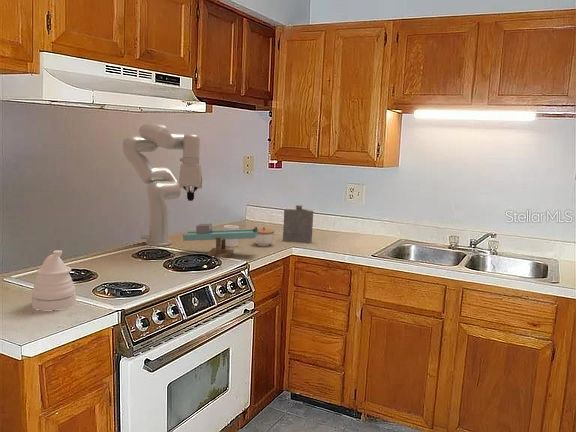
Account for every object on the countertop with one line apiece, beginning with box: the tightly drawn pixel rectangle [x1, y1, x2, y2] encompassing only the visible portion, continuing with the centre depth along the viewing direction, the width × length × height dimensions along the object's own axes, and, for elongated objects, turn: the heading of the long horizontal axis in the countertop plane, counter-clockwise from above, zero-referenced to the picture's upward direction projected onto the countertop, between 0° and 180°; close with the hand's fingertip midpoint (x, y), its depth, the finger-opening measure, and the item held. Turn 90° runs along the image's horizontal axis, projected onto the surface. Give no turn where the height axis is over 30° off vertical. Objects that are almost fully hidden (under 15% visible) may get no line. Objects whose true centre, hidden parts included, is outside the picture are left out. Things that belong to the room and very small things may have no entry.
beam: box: [182, 226, 259, 242], centre depth 243 cm, size 34×10×5 cm, turn 85°
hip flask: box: [282, 204, 314, 244], centre depth 279 cm, size 16×4×20 cm, turn 80°
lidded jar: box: [253, 226, 275, 247], centre depth 268 cm, size 11×11×9 cm
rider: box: [195, 223, 213, 234], centre depth 243 cm, size 6×6×4 cm
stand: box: [206, 237, 235, 259], centre depth 243 cm, size 10×13×9 cm
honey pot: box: [31, 249, 77, 310], centre depth 165 cm, size 13×13×18 cm
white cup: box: [223, 224, 240, 248], centre depth 263 cm, size 8×8×10 cm
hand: (190, 200), depth 241 cm, fingers closed
